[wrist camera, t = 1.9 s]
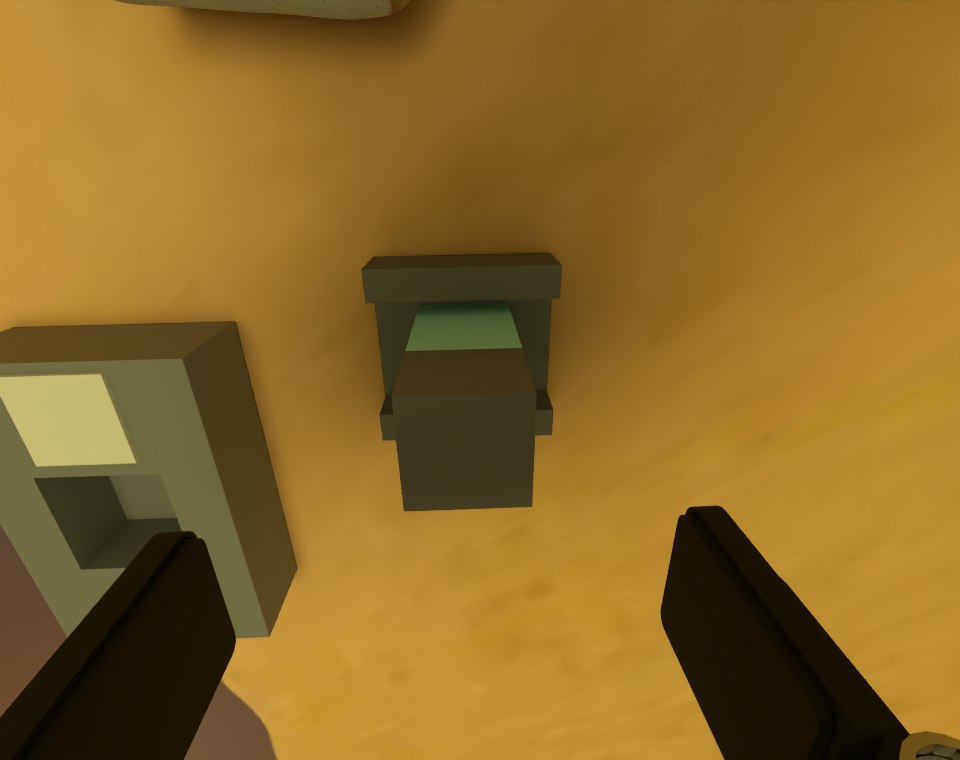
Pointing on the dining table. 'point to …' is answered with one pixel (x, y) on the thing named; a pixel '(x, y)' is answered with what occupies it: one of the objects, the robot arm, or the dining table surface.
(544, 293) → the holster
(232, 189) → the dining table surface
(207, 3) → the ceramic mug
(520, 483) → the plug
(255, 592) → the port panel
